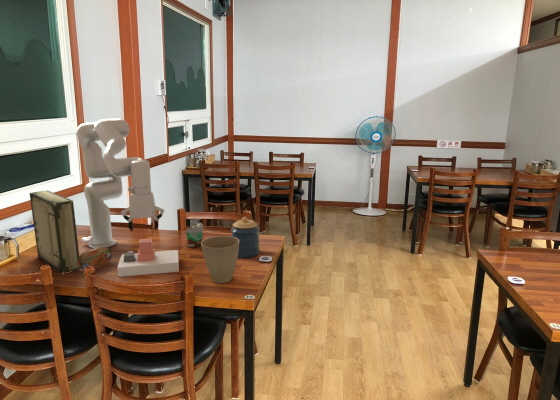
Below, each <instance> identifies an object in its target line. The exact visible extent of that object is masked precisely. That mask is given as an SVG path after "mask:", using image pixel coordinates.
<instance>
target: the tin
mask: <svg viewBox="0 0 560 400" xmlns="http://www.w3.org/2000/svg"><path fill="white" fill-rule="evenodd" d="M112 253H113V252H112V250H111V248H109V247H98V248H91V249H90V250H86V251H84V252H81V254H79V258H78V266H79V268H80V269H81V271H84V268H85V267H88V266H92V267H94V268H95V270H98V269H100V268H103V267H105V266H107V265H109V263H111V260H112V258H113V254H112Z"/></svg>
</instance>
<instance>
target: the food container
mask: <svg viewBox="0 0 560 400" xmlns="http://www.w3.org/2000/svg"><path fill="white" fill-rule="evenodd" d="M194 223H195V224H193V225H191V226H190V227H189V228H188V227H187V228H186V229H185V233H186V238H187V248H189V249H191V248H198V247H199V248H200V247H202V246H201V242H202V241H203V231H204V229H205V227H204V225H203V223H202V222H198V221H197V222H194Z"/></svg>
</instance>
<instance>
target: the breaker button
mask: <svg viewBox="0 0 560 400" xmlns="http://www.w3.org/2000/svg"><path fill="white" fill-rule="evenodd" d="M135 253H136V252H135V251H133V252H132V253H128V252H124V253H123V254H124V262H134V261H135Z"/></svg>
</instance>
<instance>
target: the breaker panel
mask: <svg viewBox="0 0 560 400" xmlns="http://www.w3.org/2000/svg"><path fill="white" fill-rule="evenodd" d="M132 252H134V251H133V250H129V251H127V253H132ZM124 254H125V253H123V254H121V256H120V259H119V262H118V265H117V276H118V277H121V278H122V277H132V276H141V275H142V276H143V275H153V274H154V275H155V274H156V275H157V274H165V273H177V272H179V271H180V269H179V268H180V266H179V265H180V264H179V250H178V249H174V250H163V251H162V250H160V251H155V261H143V262H138V259H137V254H138V252H137V253H136V252H135V261H134V262H124Z"/></svg>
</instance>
